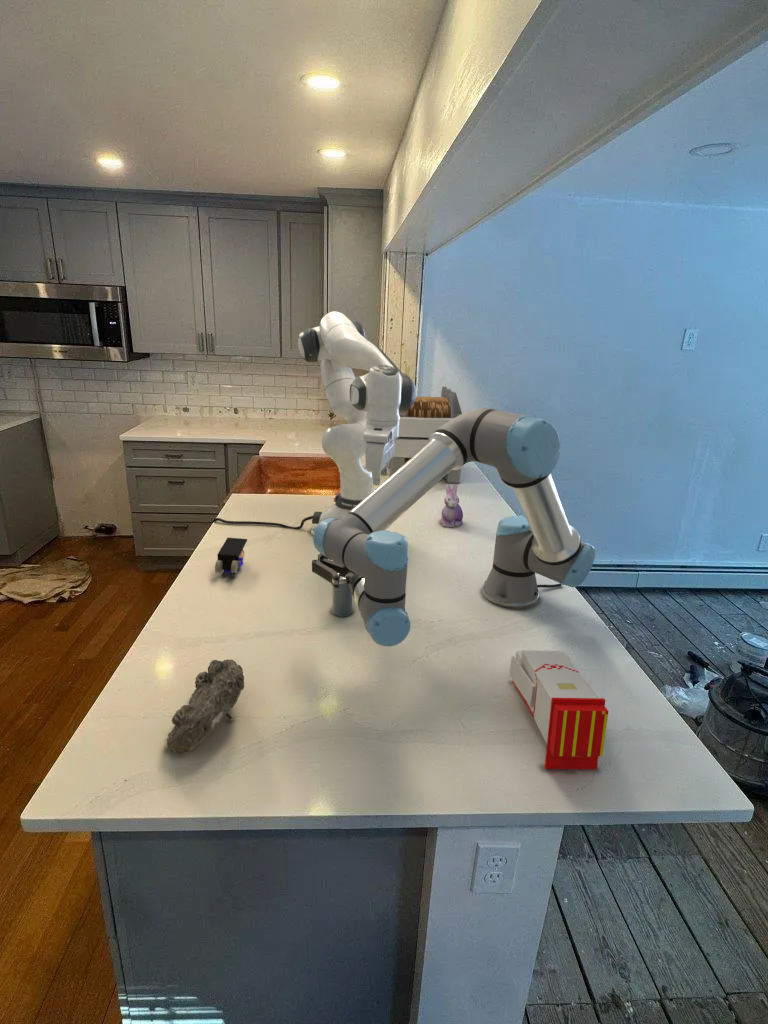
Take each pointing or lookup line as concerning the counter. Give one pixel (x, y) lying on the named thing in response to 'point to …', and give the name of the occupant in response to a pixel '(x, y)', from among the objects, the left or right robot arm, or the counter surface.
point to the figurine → (451, 508)
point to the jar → (342, 600)
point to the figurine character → (230, 556)
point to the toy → (561, 708)
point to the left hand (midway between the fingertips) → (380, 479)
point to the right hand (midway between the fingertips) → (350, 548)
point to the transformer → (424, 428)
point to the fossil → (206, 705)
